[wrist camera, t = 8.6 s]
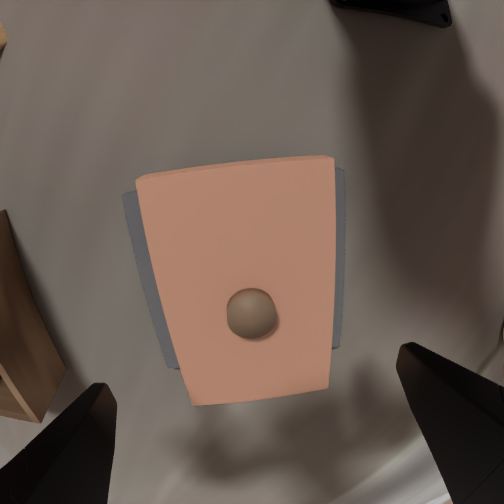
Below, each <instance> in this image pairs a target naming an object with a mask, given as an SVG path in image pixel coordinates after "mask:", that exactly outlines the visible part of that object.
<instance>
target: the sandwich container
mask: <svg viewBox="0 0 504 504" xmlns="http://www.w3.org/2000/svg"><path fill="white" fill-rule="evenodd" d="M6 43H7V36H6V34H5V31H4V28H3V26H2V23H1V21H0V50H1V49H2V48H3V47H4V46H5V44H6Z"/></svg>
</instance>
